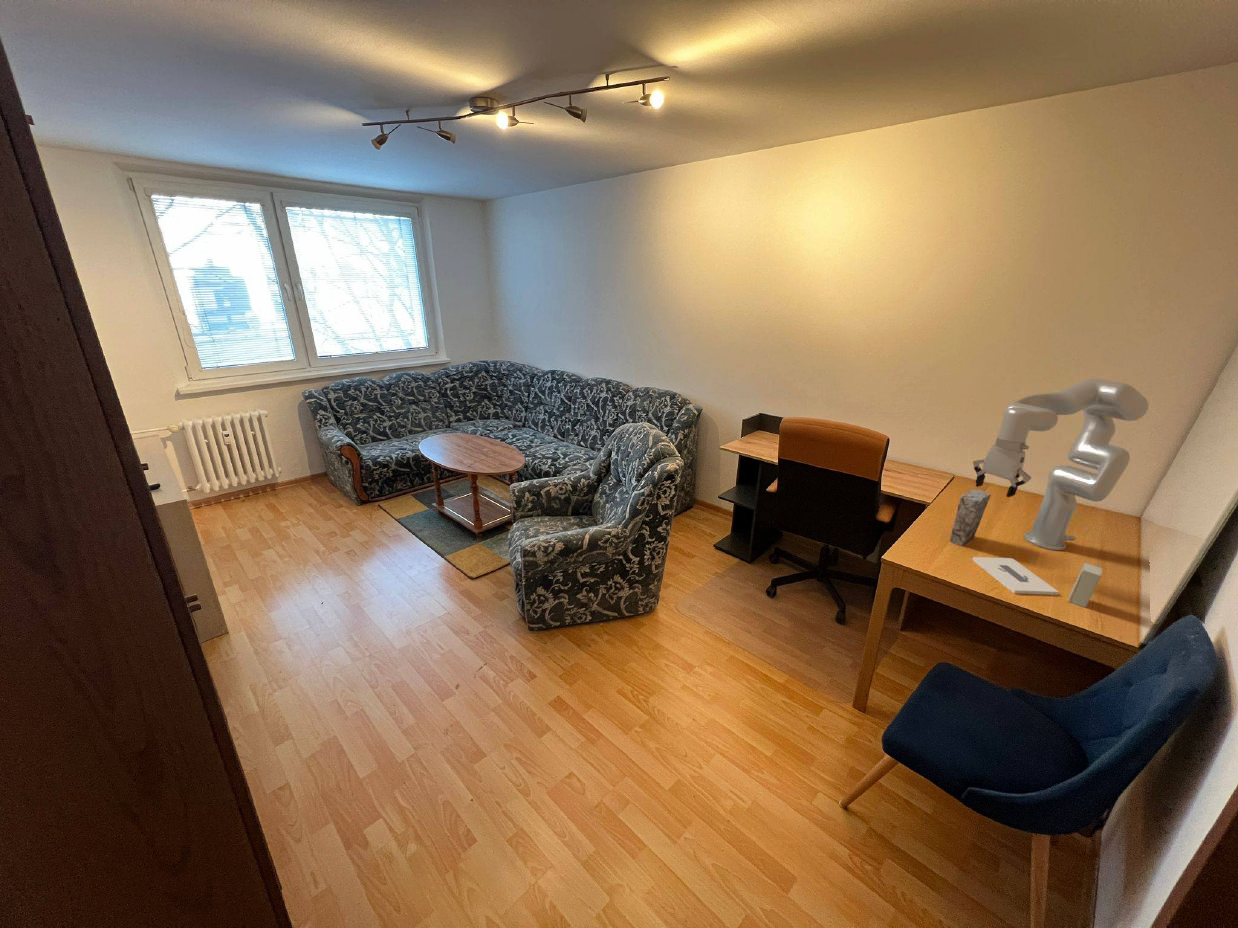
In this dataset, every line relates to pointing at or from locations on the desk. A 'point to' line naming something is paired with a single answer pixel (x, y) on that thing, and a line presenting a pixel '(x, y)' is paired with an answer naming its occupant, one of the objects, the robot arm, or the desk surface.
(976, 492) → the stone block
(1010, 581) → the board
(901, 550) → the desk surface
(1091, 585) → the skincare box
